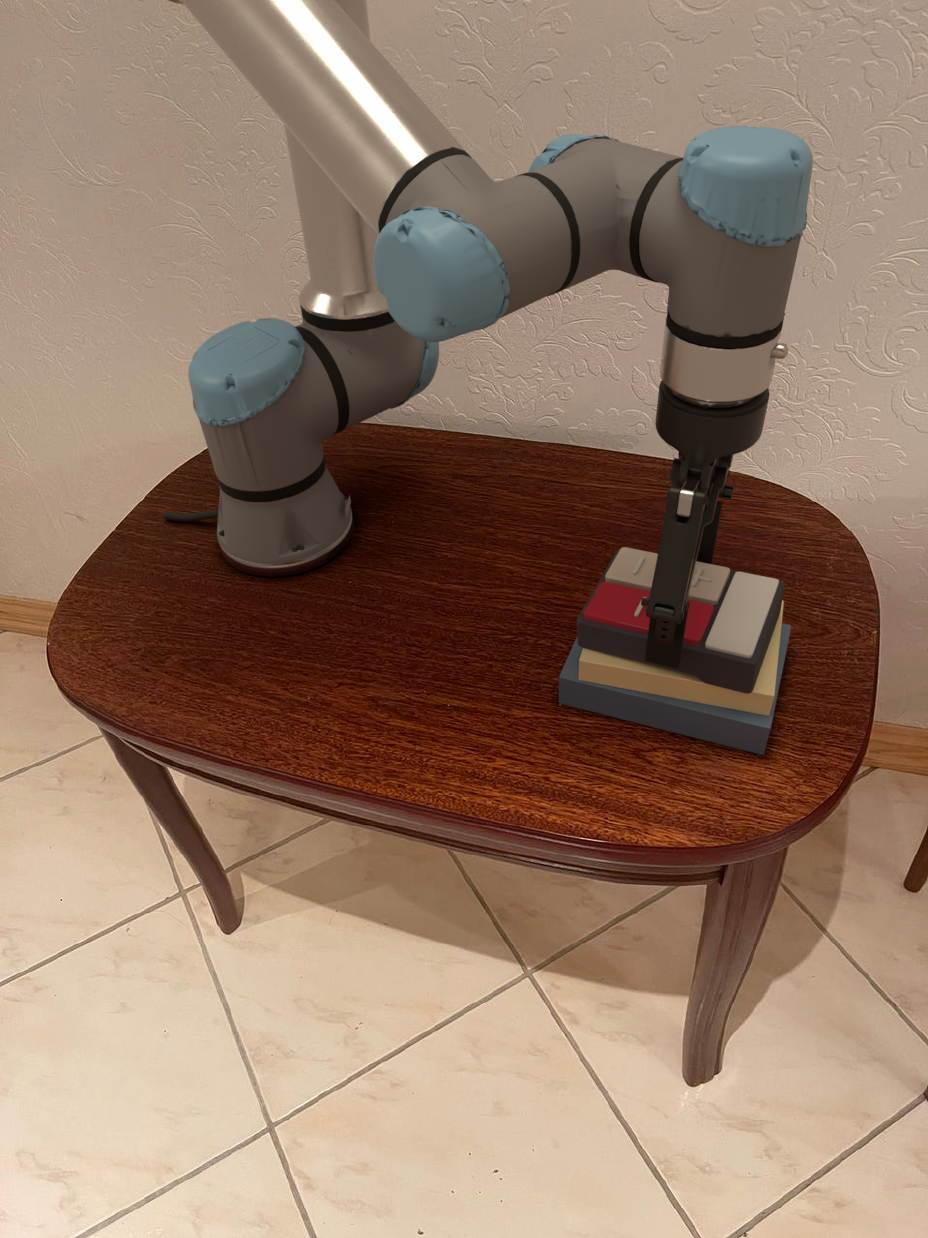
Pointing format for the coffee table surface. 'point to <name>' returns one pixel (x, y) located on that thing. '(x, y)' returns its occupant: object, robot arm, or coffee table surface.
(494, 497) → the coffee table surface
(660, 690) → the book stack
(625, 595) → the calculator
